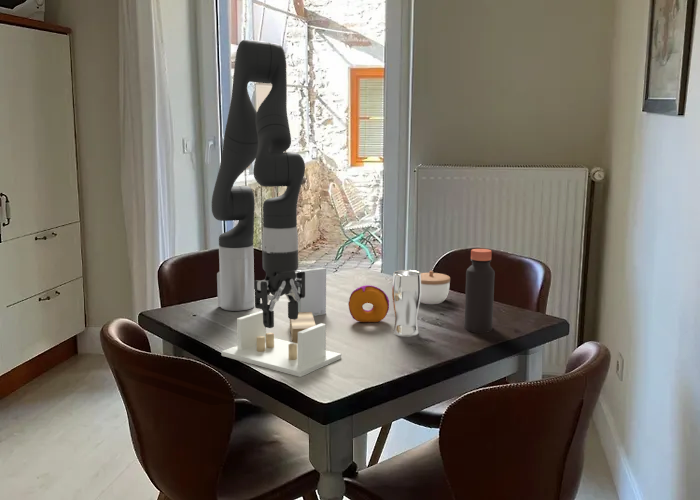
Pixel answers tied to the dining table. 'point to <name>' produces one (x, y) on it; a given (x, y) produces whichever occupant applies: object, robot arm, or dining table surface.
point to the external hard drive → (314, 292)
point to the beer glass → (406, 301)
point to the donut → (368, 296)
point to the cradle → (280, 347)
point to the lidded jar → (434, 287)
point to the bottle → (479, 292)
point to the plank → (301, 324)
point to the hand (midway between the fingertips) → (281, 322)
